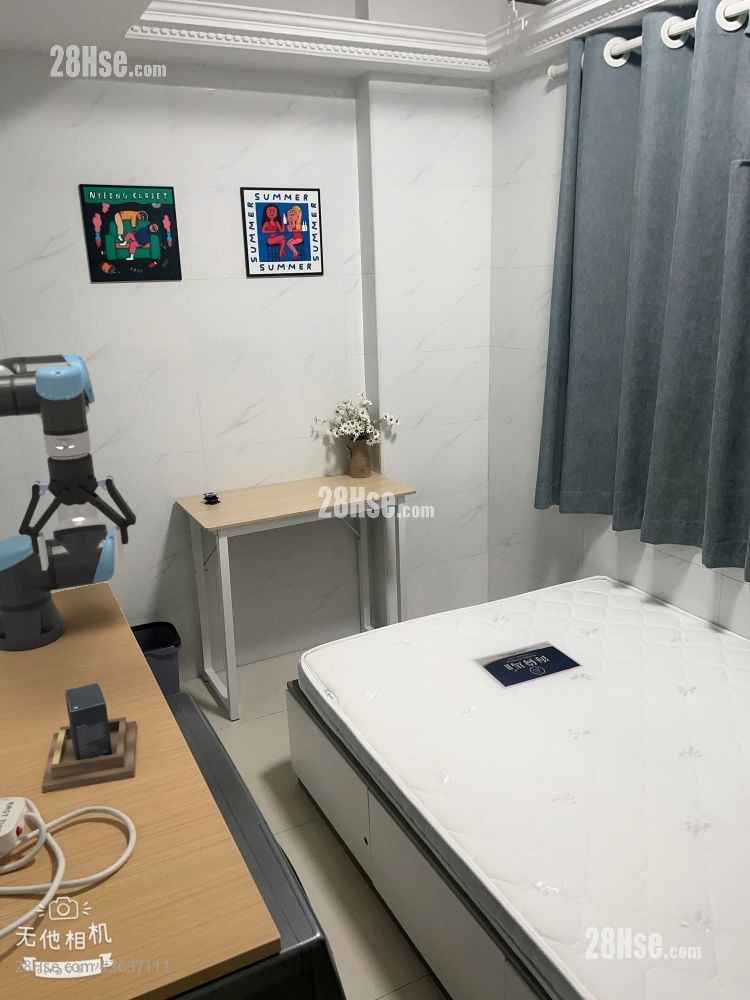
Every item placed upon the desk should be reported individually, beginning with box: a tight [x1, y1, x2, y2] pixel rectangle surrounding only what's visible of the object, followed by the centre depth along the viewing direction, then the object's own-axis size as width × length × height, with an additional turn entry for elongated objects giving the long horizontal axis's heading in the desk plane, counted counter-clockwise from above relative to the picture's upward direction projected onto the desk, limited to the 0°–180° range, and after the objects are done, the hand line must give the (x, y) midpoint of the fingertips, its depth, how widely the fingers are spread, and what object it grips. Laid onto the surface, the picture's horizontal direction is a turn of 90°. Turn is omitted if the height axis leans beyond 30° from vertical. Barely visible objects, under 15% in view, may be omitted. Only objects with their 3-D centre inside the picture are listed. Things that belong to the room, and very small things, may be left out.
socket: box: [41, 716, 138, 794], centre depth 128 cm, size 15×14×3 cm
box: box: [64, 682, 112, 760], centre depth 127 cm, size 8×6×11 cm
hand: (84, 563), depth 141 cm, fingers open, 13 cm apart
